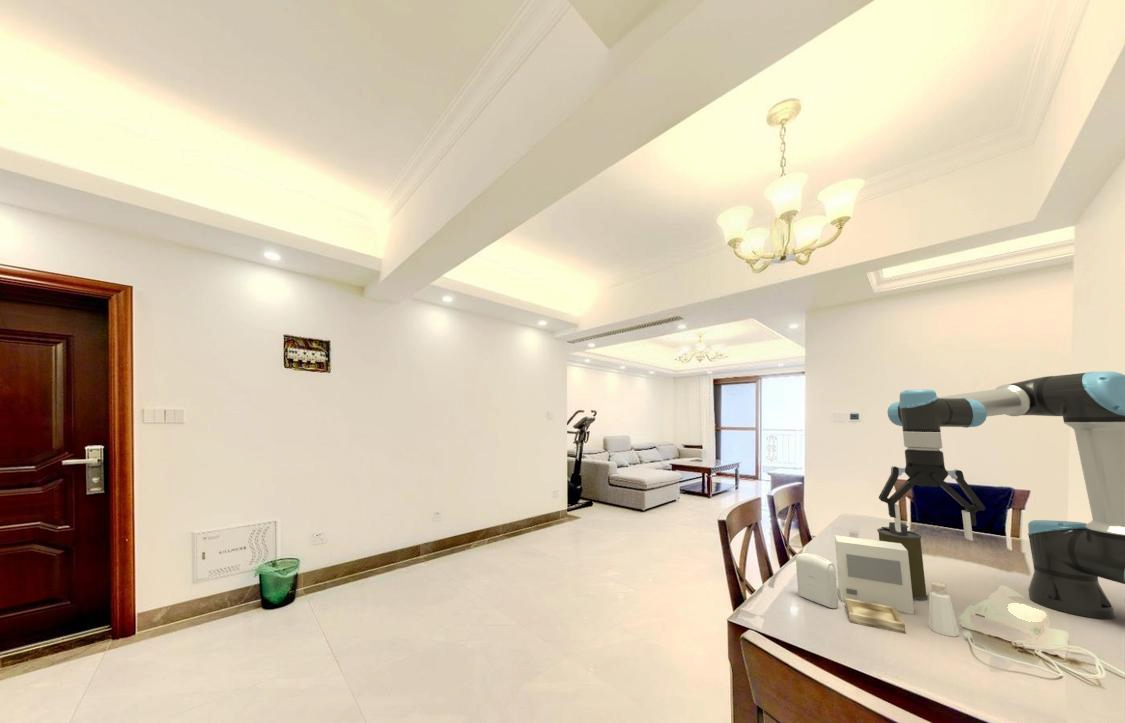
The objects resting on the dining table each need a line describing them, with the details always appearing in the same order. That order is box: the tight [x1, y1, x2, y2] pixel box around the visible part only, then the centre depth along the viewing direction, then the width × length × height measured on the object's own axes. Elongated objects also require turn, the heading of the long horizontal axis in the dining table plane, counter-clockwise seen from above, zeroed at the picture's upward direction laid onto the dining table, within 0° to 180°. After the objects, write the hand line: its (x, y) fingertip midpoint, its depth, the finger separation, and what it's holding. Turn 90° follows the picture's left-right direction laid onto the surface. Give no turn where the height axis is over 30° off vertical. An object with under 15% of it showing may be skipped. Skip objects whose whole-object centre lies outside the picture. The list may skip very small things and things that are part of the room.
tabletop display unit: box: [834, 534, 915, 615], centre depth 117 cm, size 16×9×16 cm, turn 61°
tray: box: [844, 598, 907, 635], centre depth 106 cm, size 11×11×2 cm
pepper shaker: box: [928, 581, 960, 638], centre depth 100 cm, size 5×5×11 cm
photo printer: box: [795, 552, 839, 609], centre depth 116 cm, size 10×4×12 cm, turn 26°
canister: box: [877, 521, 929, 601], centre depth 124 cm, size 11×10×20 cm
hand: (932, 535), depth 103 cm, fingers open, 13 cm apart
